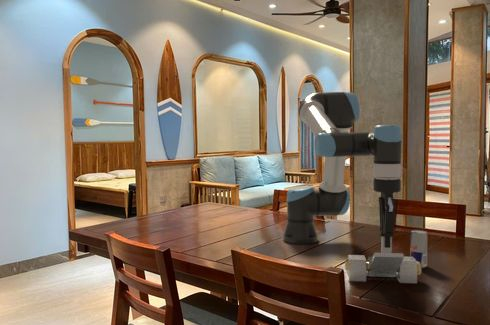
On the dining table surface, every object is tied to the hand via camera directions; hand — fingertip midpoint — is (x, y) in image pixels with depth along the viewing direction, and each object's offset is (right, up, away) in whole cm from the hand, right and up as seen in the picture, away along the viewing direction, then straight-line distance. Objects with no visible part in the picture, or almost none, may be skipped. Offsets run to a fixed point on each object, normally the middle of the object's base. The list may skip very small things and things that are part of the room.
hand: (386, 257), depth 119 cm
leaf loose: (0, -3, +2) cm, 4 cm away
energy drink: (+18, -8, +20) cm, 29 cm away
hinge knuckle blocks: (+2, -9, +11) cm, 14 cm away
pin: (+1, -7, +8) cm, 10 cm away
